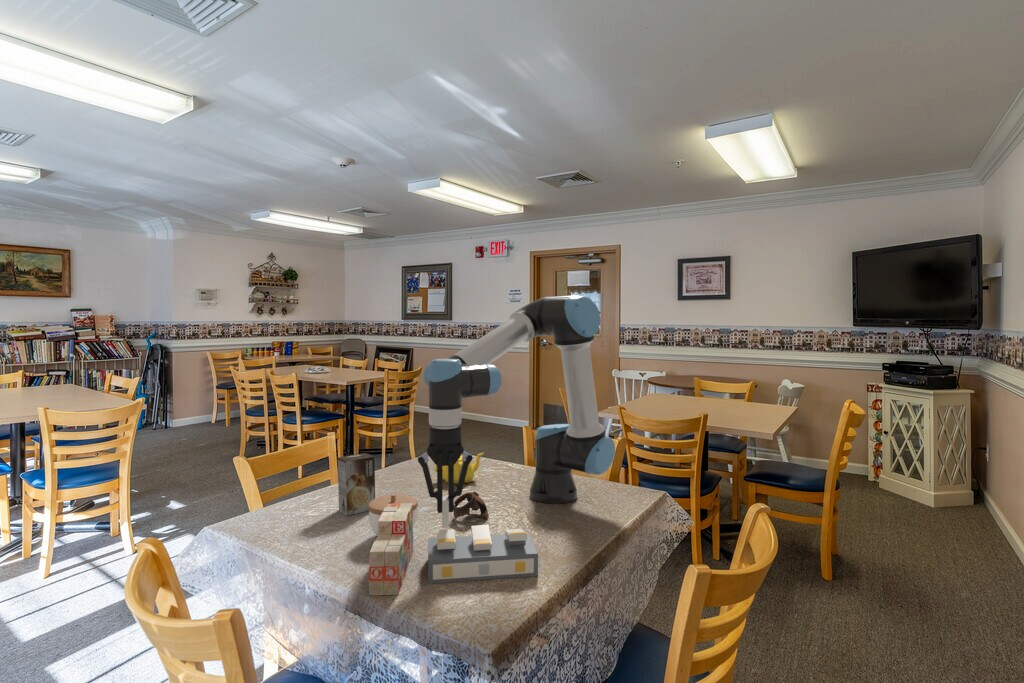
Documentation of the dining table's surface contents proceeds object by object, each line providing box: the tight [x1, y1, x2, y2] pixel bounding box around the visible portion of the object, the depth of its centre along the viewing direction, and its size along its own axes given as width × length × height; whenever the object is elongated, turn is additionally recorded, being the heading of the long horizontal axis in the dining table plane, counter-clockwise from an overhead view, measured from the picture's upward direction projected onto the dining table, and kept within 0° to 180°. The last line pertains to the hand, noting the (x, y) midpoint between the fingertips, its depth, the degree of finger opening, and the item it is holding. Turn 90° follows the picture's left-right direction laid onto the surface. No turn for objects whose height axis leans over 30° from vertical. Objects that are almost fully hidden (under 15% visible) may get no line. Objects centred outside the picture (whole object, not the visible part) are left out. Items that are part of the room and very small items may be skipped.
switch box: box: [427, 532, 539, 584], centre depth 123 cm, size 24×12×6 cm, turn 99°
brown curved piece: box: [453, 491, 490, 521], centre depth 155 cm, size 12×10×8 cm
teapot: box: [434, 452, 485, 485], centre depth 191 cm, size 14×13×10 cm
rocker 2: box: [470, 524, 492, 551], centre depth 122 cm, size 4×7×2 cm, turn 9°
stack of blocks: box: [368, 503, 414, 596], centre depth 120 cm, size 21×6×12 cm, turn 3°
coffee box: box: [337, 452, 376, 517], centre depth 160 cm, size 9×6×16 cm
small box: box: [504, 528, 528, 541], centre depth 124 cm, size 4×7×2 cm, turn 9°
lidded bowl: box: [368, 493, 419, 536], centre depth 140 cm, size 13×13×11 cm
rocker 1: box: [436, 528, 456, 550], centre depth 121 cm, size 4×7×2 cm, turn 9°
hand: (445, 525), depth 126 cm, fingers closed
